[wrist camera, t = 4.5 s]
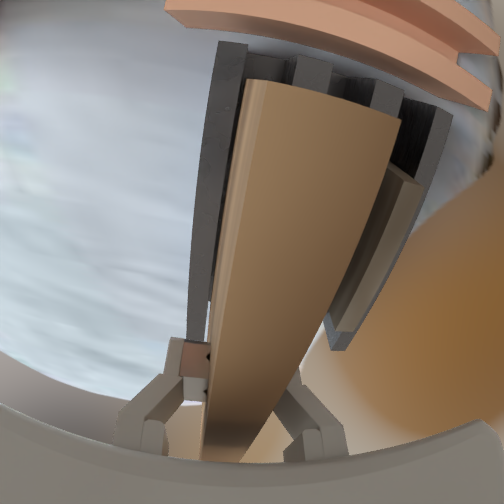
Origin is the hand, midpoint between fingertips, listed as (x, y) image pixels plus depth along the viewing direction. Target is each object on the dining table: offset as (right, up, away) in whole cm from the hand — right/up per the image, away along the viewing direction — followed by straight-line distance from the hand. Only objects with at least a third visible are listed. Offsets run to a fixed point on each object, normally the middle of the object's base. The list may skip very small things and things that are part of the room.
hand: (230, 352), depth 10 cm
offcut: (+9, +7, +13) cm, 17 cm away
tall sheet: (0, +7, +10) cm, 13 cm away
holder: (+7, +21, +5) cm, 23 cm away
